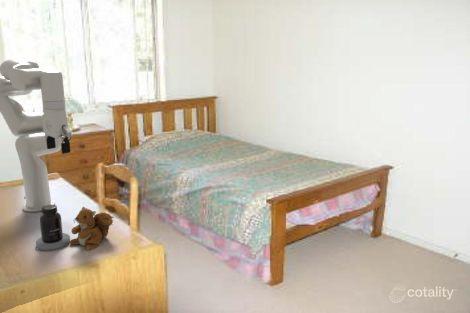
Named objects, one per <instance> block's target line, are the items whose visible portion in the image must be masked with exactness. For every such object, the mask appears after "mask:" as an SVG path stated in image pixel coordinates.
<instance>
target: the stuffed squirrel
mask: <svg viewBox="0 0 470 313" xmlns="http://www.w3.org/2000/svg"><path fill="white" fill-rule="evenodd" d="M113 219H114V216H112V215H111V214H109V213H106V212H99V213H97V212H96V211H95V210H94V211H93V210H92V209H90V208H86V207H85V206H82V207H81V209H80V210H79V212H78V214H77V215H76V217H75V218H74V219H73V220H72V221H73V224H75V223H77V225H75V226H74V227H72V228H71V233H72V234H73V235H77V236H76V238H73V239H70V242H69V245H70V246H77V245H80V246H83V247H85V249H86V251H92V250H94V249H95V248H98V247H99V245H100V244H101V242H102V241H103V240H104V239H105V238H107V236H108V234H109V229H110V226H112V225H113V223H114V222H113V221H114V220H113Z"/></svg>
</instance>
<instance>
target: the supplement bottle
mask: <svg viewBox="0 0 470 313" xmlns="http://www.w3.org/2000/svg"><path fill="white" fill-rule="evenodd" d="M57 206H58V205H56V204H55V205H46V206H43V207H42V211H41V215H40V216H39V224H40V225H39V228H40V233H41V234H40V236H41V237H42V241H43V242H45V243H55V242H58V241H60V240H61V239H62V238H63V233H64V231H63V224H62V215H61V214H60V213H59V212H58V207H57Z"/></svg>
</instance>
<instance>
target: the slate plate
mask: <svg viewBox="0 0 470 313" xmlns="http://www.w3.org/2000/svg"><path fill="white" fill-rule="evenodd" d="M70 241H71V236H70V234H69V233H65V232H63V238H62V239H61V240H60V241H58V242H55V243H45V242H43V241H42V237H39V238H38V239H37V240H35V248H36V249H37V250H39V251H42V252H43V251H44V252H52V251H56V250H58V251H59V250H61V249H62V248H65V247H67V246H69V245H70V243H69V242H70Z"/></svg>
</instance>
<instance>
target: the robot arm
mask: <svg viewBox="0 0 470 313" xmlns="http://www.w3.org/2000/svg"><path fill="white" fill-rule="evenodd" d="M0 75H1V76H0V114H1V116H2V117H3V119H4V121H5V123H6V125H7V127H8V129H9V130H10V132H11V134H12V135H13V136H15V137H17V138H16V139H15V141H14V144H15V145H14V146H15V151H16V153H17V156H18V159H19V163H20V168H21V174H22V181H23V187H24V188H23V189H24V195H25V196H24V197H23V199H24V200H25V203H24V204H23V205H22V209H23V211H24V212H29V213H36V212H42V207H43V206H46V205H56V201H55V200H54V199H51V190H50V183H49V175H48V169H47V165H46V163H45V161H43V160H42V159H41V158H40V156H45V155H50V154H55V153H57V152H59V151H60V150H61V154H63V155H64V154H69V153H71V144H70V143H71V139H72V131H71V130H70V128H69V122H68V116H67V112H66V99H65V98H66V97H65V88H64V78H63V73H62V72H61V71H60V70H54V69H53V68H49V67H48V68H46V67H45V68H40V65H39V64H38V62H36V61H35V60H34V59H33V58H30V59H29V58H25V59H24V58H23V59H22V58H20V59H19V58H18V59H15V58H14V59H8V60H4V61H3V62H2V63H1V64H0ZM35 90H40V92H41V102H42V111H36V112H35V111H33V112H26V111H25V109H24V106H22V104H20V103H19V102H18V101H17V100H15V99H13V98H11V97H17V96H26V95H29V94H31V93H32V92H33V91H35Z"/></svg>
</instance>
